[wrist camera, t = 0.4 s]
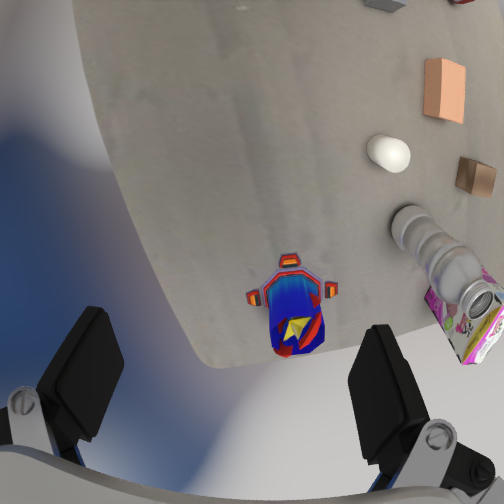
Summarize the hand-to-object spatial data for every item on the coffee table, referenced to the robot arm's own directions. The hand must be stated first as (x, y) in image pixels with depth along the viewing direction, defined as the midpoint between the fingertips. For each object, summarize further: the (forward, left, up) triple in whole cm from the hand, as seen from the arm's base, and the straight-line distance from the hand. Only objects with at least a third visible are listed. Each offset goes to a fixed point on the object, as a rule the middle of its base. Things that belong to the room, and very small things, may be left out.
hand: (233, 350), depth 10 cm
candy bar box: (+15, +33, -30) cm, 47 cm away
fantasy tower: (+19, +6, -30) cm, 36 cm away
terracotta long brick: (-14, +24, -30) cm, 41 cm away
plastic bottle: (+6, +22, -30) cm, 38 cm away
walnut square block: (-3, +32, -30) cm, 44 cm away
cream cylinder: (-4, +16, -30) cm, 34 cm away
